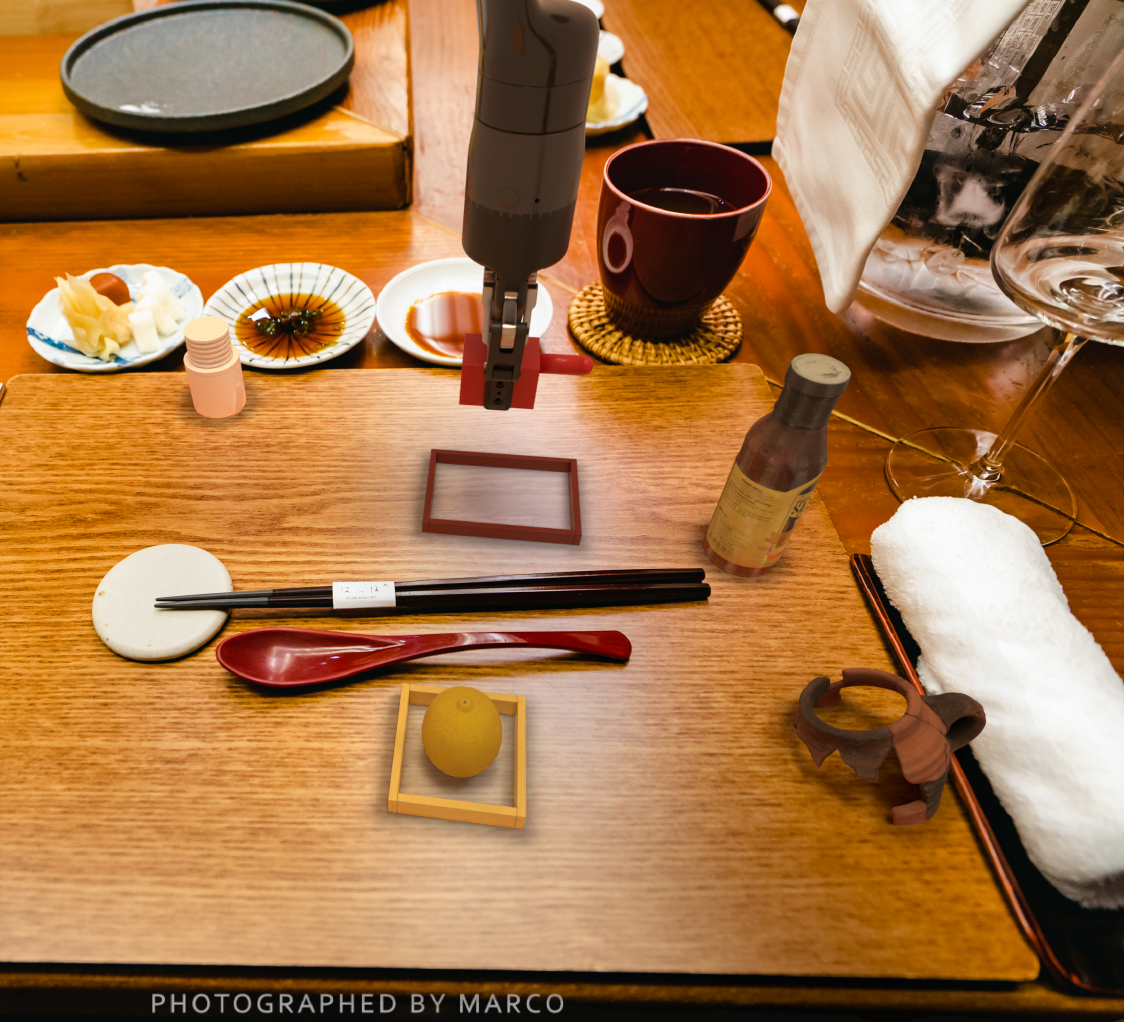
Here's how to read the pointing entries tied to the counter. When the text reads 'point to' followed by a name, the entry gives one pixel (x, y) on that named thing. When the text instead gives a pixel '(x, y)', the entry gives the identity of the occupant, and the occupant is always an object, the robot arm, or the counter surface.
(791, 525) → the sauce bottle
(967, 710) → the broken clay pot
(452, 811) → the yellow square frame
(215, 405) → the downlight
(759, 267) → the counter surface
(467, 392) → the red peg block
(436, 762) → the lemon
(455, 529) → the dark red rectangular frame
